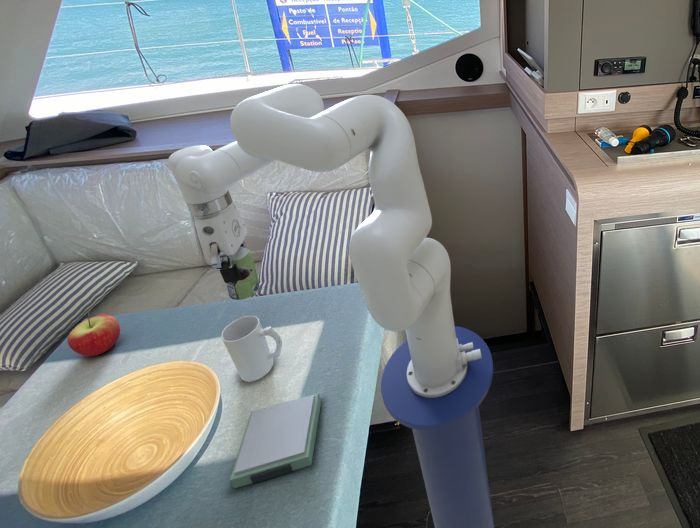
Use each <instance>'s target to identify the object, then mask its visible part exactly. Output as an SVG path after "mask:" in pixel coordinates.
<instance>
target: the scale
mask: <svg viewBox="0 0 700 528" xmlns="http://www.w3.org/2000/svg"><path fill="white" fill-rule="evenodd" d="M321 407H322V399H321V396H320V394H319V393H314V394H311V395H306V396H303V397H300V398H296V399H292V400H288V401H285V402H281V403H276V404H273V405H270V406H266V407H262V408H259V409H255V410H252V411H250V414H249V418H248V421H247V424H246V427H245V430H244V434H243V437H242V439H241V443H240V446H239V450H238V452H237V456H236V459H235V462H234V465H233V468H232V470H231V471H232V472H231V475H230V478H229V481H230V483H231V486H232V487H233V489H238V488H241V487H245V486H248V485H251V484H256V483H260V482H263V481H266V480H270V479H273V478H276V477H279V476H282V475H286V474H288V473H292V472H293V471H297V470H300V469H304V468H307V467H309V466H310V467H311V466H312V463H313V456H314V451H315V445H316V438H317V433H318V425H319V419H320V412H321Z"/></svg>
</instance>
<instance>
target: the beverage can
mask: <svg viewBox="0 0 700 528" xmlns="http://www.w3.org/2000/svg"><path fill="white" fill-rule="evenodd" d="M232 258H233V263H234V264H236V265H237V268H238V270H239V273H240V275H241V280H239V281H235V282H230V283H225V285H226V289H227V292H228V296H229V298H230V299H231V300H234V301H235V300H236V301H242V300H247V299H249V298H251V297H252V296H254V295H255V294H256V293H257V292H258V291H259V290H260V282H259V278H258V274H257V269H256V268H257V267H256V263H255V260H254V255H253V253H252V251H251V250H249V248H248V247H247V246H246V247H239V249H238V250H237V252H236V253H235V254H234V255H232ZM221 261H226V262H228V260H227V257H223V258H221Z"/></svg>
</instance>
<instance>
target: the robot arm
mask: <svg viewBox="0 0 700 528" xmlns="http://www.w3.org/2000/svg"><path fill="white" fill-rule="evenodd" d="M229 125H230V130H231V133H232V135H233V136H234V137H233V138H235V141H233V142H229V143H228V144H225V145H223V146H220V147H218V148H216V149H215V150H213V149H212V148H211V147H209V146H207V145H192V146H187V147H184V148H181V149H179V150H176V151H175V152H173V153H171V155H170V156H168V161H167V162H168V166H169V168H170V170H171V173H172V175H173V177H174V179H175V182H176V184H177V186H178V189H179V191H180V194H181V195H182V197H183V200H184V202H185V204H186V207H187V209H188V211H189V213H190V216H191V218H193V219H194V221H195V224H196V225H195V226H196V228H197V232H198V235H199V238H200V241H201V244H202V246H203V248H204V251H205V252H206V255H207V256H208V258H209V259H210V267H211V268H214V269H216V270H217V271H219V272H220V275H221V277H222V280H223V282H224V283H225V284H226V283H230V282H235V281H239V280H241V275H240V273H239V270H238V268H237V265H236V264H234V263H233V258H232V255H234V254H235V253H236V252H237V250H238V249H239V247H246V248H247V245H246V240H245V238H246V236H247V234H248V229H247V227H246V224H245V222H244V220H243V217H242V215H241V213H240V212H239V210H238V208H237V205H236V204H235V202H234V201H233V198H232V196H231V193H230V190H229V188H230V187H232V186H234V185H236V184H238V183H239V182H241V181H242V180H244V179H246V178H249V177H250V176H252V175H255V174H256V173H258V172H260V171H261V170H263V169H264V168H266V167H267V166H269V165H270V164H271V163H273V162H274V161H278V162H281V163H284V164H286V165H290V166H294V167H297V168H300V169H302V170H303V169H304V170H307V171H310V172H314V173H326V172H327V173H328V172H332V171H335V170H337V169H339V168H341V167H343V166H344V165H345V164H347V163H348V162H350V161H351V160H352V159H354V158H356V157H357V156H359V155H360V154H361V153H363V152H365V151H366V150H367V149H368V150H369V153H370V154H369V161H368V169H367V170H368V171H367V173H368V174H367V175H368V184H369V187H370V190H371V192H372V197H373V201H374V208H373V210H372V213H371V214H370V215H369V216H368V217H367V218H366V219H365V220H364V221H362V222H361V223H360V224H359V225H358V226H357V228H356V229H355V230H354V231H353V233H352V234H351V237H350V241H349V245H348V256H349V261H350V264H351V266H352V270H353V272H354V276H355V279H356V281H357V284H358V286H359V291H360V293H361V296H362V299H363V302H364V305H365V306H366V310H367V311H368V313H369V315H370V316H371V318H372V319H373V321H374V322H375V323H376V324H377V325H379V327H381V328H383V329H385V330H386V331H389V332H396V333H398V332H402V331H405V335H406V340H407V341H408V345H409V350H410V355H411V361H410V362H409V365H408V368H407V380H408V384H409V386H410V388H411V389H412V390H413V391H414V392H415V393H416V394H418V395H420V396H422V397H427V398H436V397H441V396H444V395H446V394H448V393H450V392H452V391H453V390H454V389H456V388H457V387H458V386H459V385H460V384H461V382H462V381H463V379H464V378H465V375H466V372H467V362H469V361H472V360H473V361H474V360H478V359H482V357H481V351H480V349H477V350H473V351H471V352H467V353H465V351H466V350H471V349H474V348H473V343H472V342H471V343H467V344H465V345H462V344H458V339H457V338H456V333H455V326H456V325H455V319H454V313H453V305H452V298H451V297H452V295H451V278H452V277H451V276H452V275H451V273H452V271H451V270H452V269H451V268H452V267H451V259H450V256H449V253H448V251H447V249H446V248H445V247H444V245H443V244H442V243H441V242H440V241H438V240H436V239H434V238H431V237H427V236H428V235H429V233H430V231H431V229H432V227H433V217H432V212H431V208H430V205H429V199H428V196H427V191H426V188H425V183H424V180H423V175H422V173H421V169H420V164H419V159H418V153H417V148H416V141H415V136H414V133H413V130H412V127H411V124H410V121H409V120H408V117H406V115H405V113H404V112H403V111H402V110H401V109H400V108H399V107H398V106H397V104H395V103H394V102H392V101H390V100H389V99H387V98H386V97H383V96H380V95H375V94H361V95H356V96H353V97H350V98H347V99H346V100H344V101H341V102H339V103H336V104H334V105H333V106H331V107H329V108H327V109H325V105H324V100H323V99H322V96H321V95H320V94H319V92H317V91H316V89H314V88H312V87H310V86H308V85H305V84H299V83H291V84H285V85H281V86H279V87H276V88H273V89H269V90H268V91H264V92H262V93H259V94H256V95H253V96H250V97H247V98H246V99H243V100H242V101H240V102H238V104H236V106H235V107H234V108H233V110H232V112H231V114H230V119H229ZM223 257H227V260H228V262H226V261H221V260H222V258H223Z"/></svg>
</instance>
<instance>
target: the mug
mask: <svg viewBox="0 0 700 528" xmlns="http://www.w3.org/2000/svg"><path fill="white" fill-rule="evenodd" d="M266 336H269V337H271V338H272V339H273V340H274V341H275V342H276V347H275V349H272V350H271V349H270V346H269V343H268V341H267V338H266ZM220 337H221V340H222V342H223V345H224V347H225V348H226V350H227V352H228V355H229V356H230V358H231V361H232V362H233V364H234V367H235V368H236V371H237V373H238V375H239V376H240V378H241V380H242V381H244V382H246V383H250V382H252V383H253V382H255V381H258V380H260V379H262V378H264V377H265V376H267V374H269V372H270V371H271V370H272V368H273V366H274V359H277V358H279V357H280V356H281V352H282V348H283V340H282V337H281V336H280V335H279V333H278V332H277V331H276V330H274V329H273V327H272V326H266V327H264V328H263V327H262V324H261V322H260V319H259V317H258V316H256V315H245V316H241V317H238V318H236V319H234V320H232V321H231V322H229V324H227V325H226V326H225V327H224V328H223V330H222V332H221V334H220Z"/></svg>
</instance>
